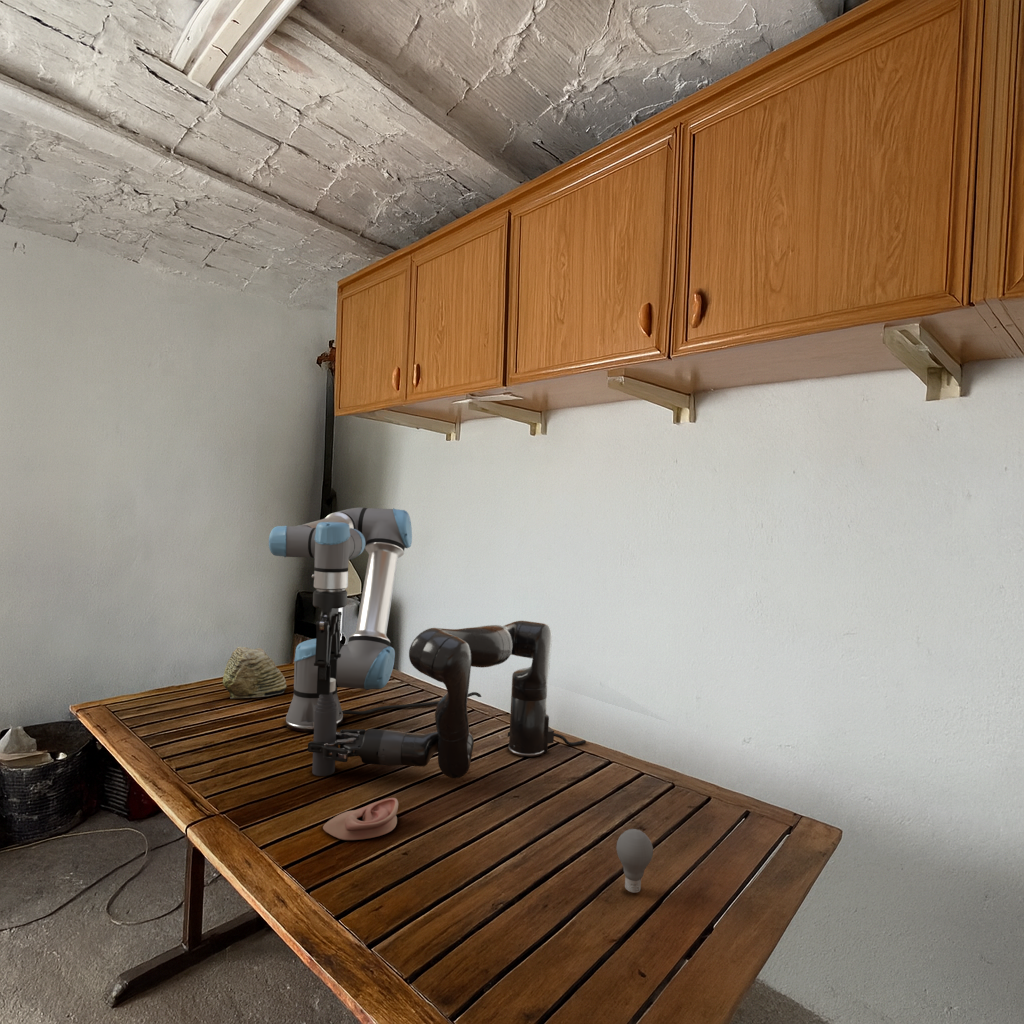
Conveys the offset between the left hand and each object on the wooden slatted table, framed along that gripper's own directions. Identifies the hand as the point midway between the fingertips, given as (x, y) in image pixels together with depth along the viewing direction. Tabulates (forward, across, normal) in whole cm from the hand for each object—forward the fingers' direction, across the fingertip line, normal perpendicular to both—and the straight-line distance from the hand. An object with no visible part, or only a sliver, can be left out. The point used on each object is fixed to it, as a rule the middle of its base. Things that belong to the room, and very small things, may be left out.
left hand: (326, 689), depth 146 cm
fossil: (+19, -53, -36) cm, 67 cm away
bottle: (+19, 0, 0) cm, 19 cm away
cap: (-2, 0, 0) cm, 2 cm away
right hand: (+12, 0, -3) cm, 13 cm away
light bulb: (+19, +42, +62) cm, 78 cm away
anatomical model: (+19, +24, +14) cm, 33 cm away
